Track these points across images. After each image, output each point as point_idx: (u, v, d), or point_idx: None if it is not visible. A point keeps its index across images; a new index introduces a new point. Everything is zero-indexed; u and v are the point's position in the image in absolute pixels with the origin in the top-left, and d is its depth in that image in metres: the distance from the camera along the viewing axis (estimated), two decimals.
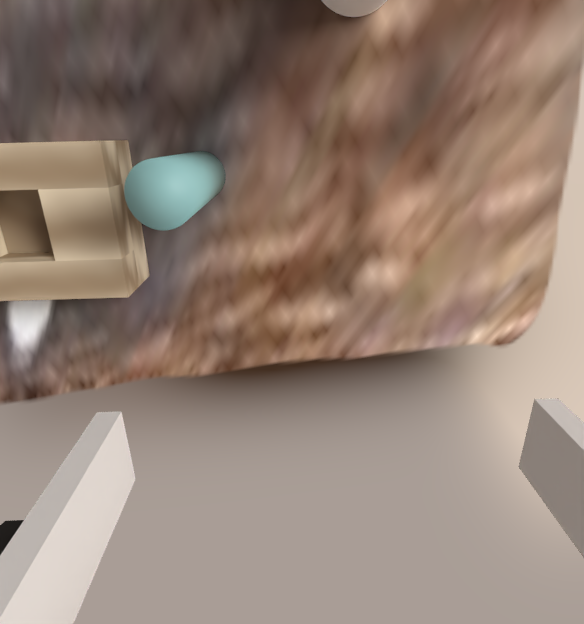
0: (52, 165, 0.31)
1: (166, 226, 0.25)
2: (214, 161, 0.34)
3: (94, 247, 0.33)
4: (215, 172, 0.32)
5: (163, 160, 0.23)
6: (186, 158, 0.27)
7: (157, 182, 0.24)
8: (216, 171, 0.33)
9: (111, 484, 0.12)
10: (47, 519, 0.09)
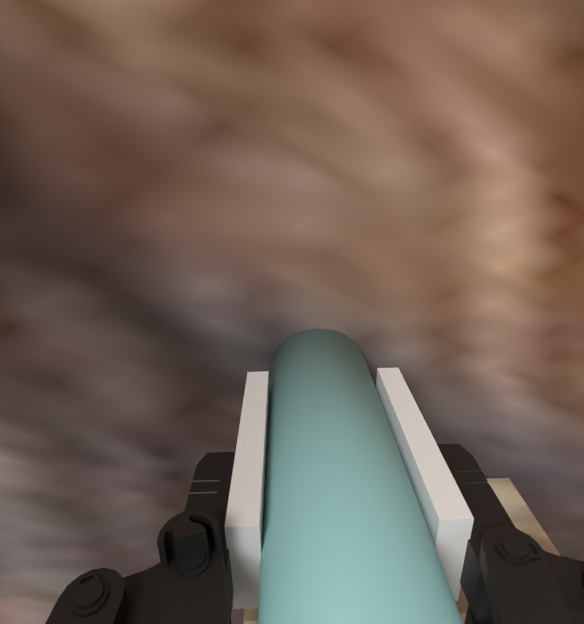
0: None
1: None
2: (288, 373, 0.14)
3: None
4: (312, 404, 0.12)
5: None
6: (265, 601, 0.08)
7: None
8: (310, 392, 0.13)
9: None
10: (255, 446, 0.11)
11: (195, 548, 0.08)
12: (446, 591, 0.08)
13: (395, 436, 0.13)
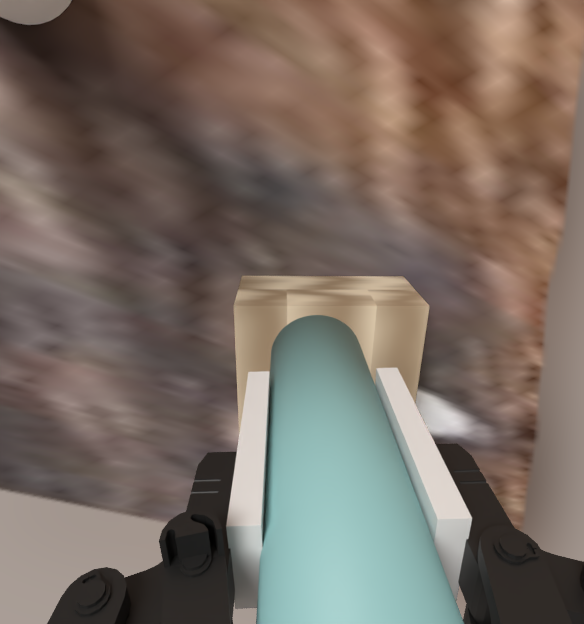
0: (261, 360, 0.27)
1: None
2: (287, 354, 0.16)
3: (358, 334, 0.27)
4: (309, 378, 0.13)
5: None
6: (266, 539, 0.09)
7: None
8: (307, 368, 0.14)
9: None
10: (256, 446, 0.11)
11: (197, 548, 0.08)
12: (424, 529, 0.09)
13: (394, 436, 0.13)
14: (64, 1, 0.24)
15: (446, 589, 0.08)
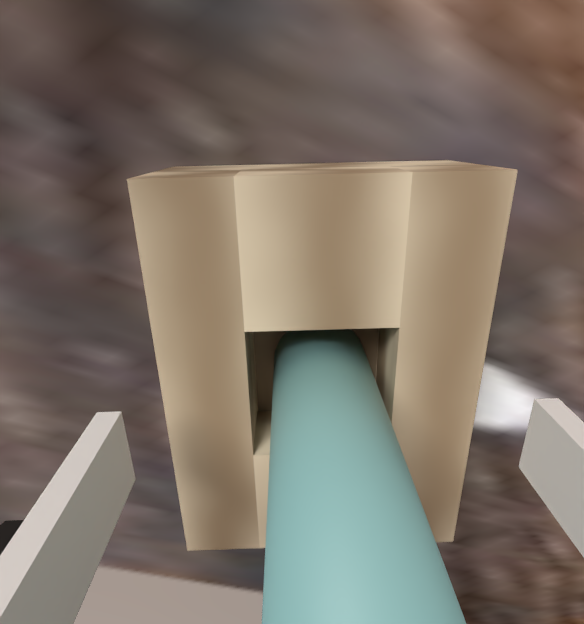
0: (193, 294, 0.14)
1: None
2: (291, 358, 0.16)
3: (377, 235, 0.14)
4: (313, 384, 0.13)
5: None
6: (271, 547, 0.09)
7: None
8: (311, 373, 0.14)
9: (111, 484, 0.12)
10: (47, 519, 0.09)
11: None
12: (429, 538, 0.09)
13: None
14: None
15: (452, 600, 0.08)
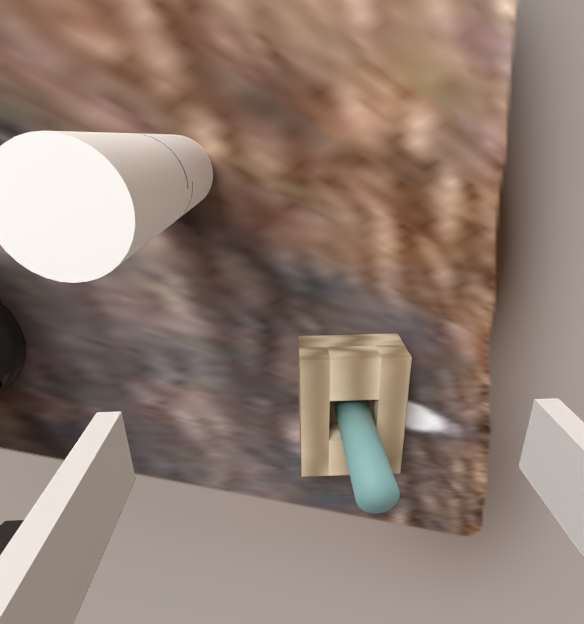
0: (314, 390, 0.47)
1: (397, 494, 0.38)
2: (344, 409, 0.48)
3: (371, 374, 0.46)
4: (353, 418, 0.46)
5: (357, 493, 0.38)
6: (350, 458, 0.41)
7: (370, 497, 0.38)
8: (352, 415, 0.46)
9: (111, 484, 0.12)
10: (47, 519, 0.09)
11: None
12: (384, 454, 0.41)
13: None
14: (204, 197, 0.44)
15: (388, 464, 0.40)
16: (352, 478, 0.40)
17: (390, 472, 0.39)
